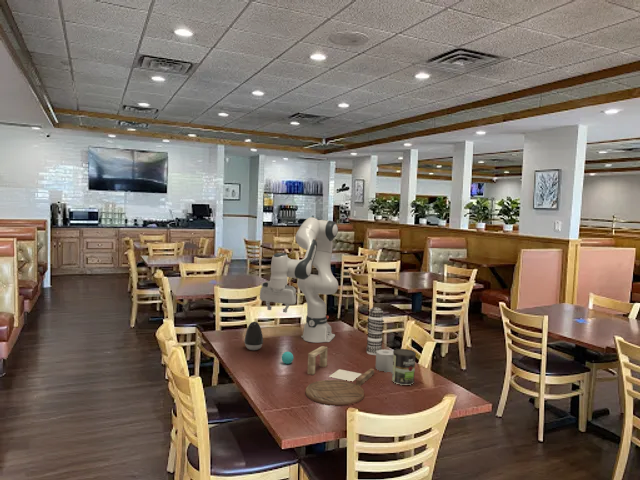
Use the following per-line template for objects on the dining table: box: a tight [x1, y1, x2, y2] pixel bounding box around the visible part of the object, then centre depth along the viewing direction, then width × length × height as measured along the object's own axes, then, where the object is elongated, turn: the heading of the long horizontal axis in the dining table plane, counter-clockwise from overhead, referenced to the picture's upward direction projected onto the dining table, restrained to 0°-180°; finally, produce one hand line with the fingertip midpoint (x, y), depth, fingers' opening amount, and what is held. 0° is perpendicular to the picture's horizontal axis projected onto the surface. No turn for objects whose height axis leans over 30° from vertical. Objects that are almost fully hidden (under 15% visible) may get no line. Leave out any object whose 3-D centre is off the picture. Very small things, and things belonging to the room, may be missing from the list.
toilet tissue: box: [375, 348, 394, 374], centre depth 238 cm, size 9×13×9 cm
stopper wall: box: [355, 368, 375, 387], centre depth 223 cm, size 18×2×2 cm, turn 154°
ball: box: [281, 351, 294, 365], centre depth 241 cm, size 6×6×6 cm
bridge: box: [306, 345, 329, 376], centre depth 234 cm, size 3×15×10 cm, turn 153°
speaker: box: [243, 321, 264, 351], centre depth 263 cm, size 10×10×15 cm
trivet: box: [305, 379, 365, 407], centre depth 205 cm, size 25×25×2 cm
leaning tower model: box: [366, 306, 385, 356], centre depth 265 cm, size 9×9×25 cm
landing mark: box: [328, 368, 363, 383], centre depth 228 cm, size 12×12×1 cm
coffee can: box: [391, 348, 417, 386], centre depth 222 cm, size 10×10×14 cm
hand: (277, 311), depth 247 cm, fingers open, 8 cm apart
